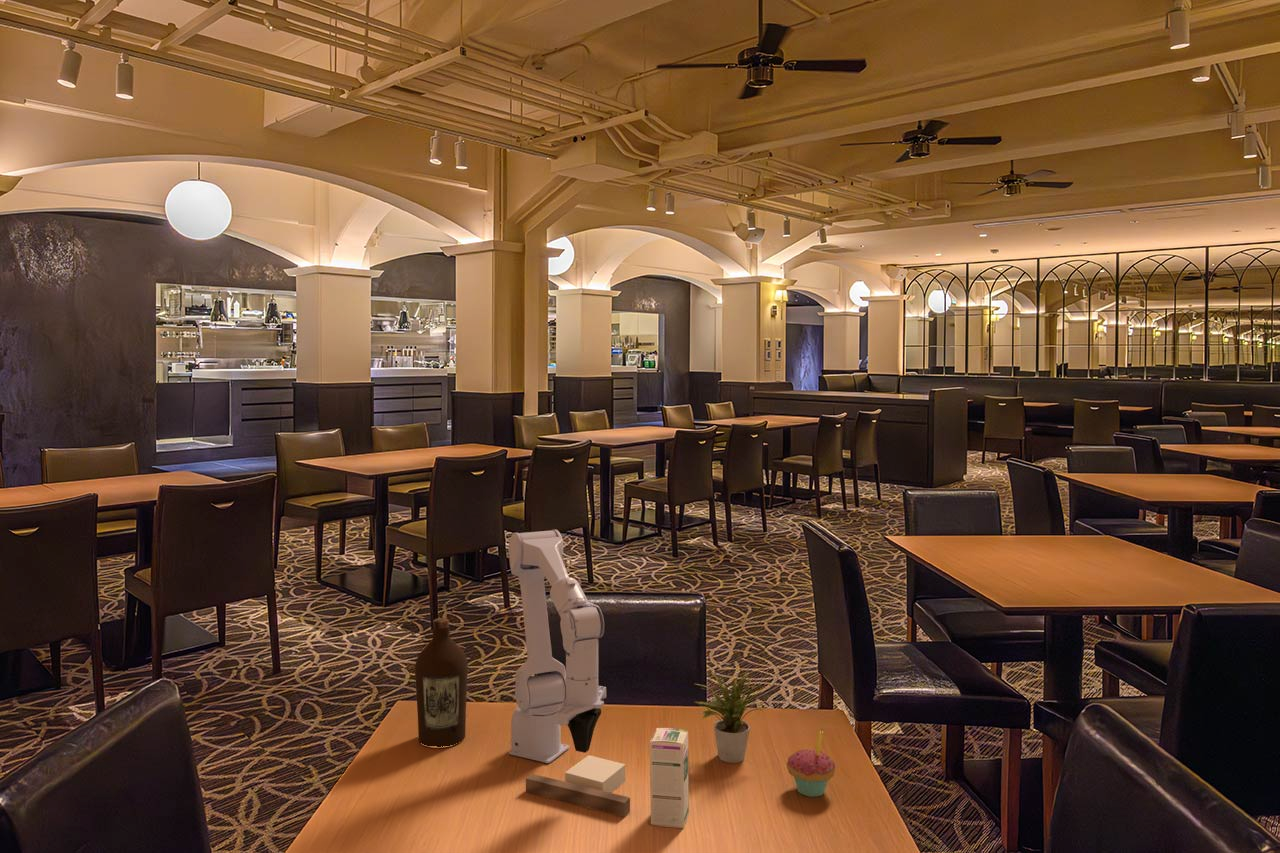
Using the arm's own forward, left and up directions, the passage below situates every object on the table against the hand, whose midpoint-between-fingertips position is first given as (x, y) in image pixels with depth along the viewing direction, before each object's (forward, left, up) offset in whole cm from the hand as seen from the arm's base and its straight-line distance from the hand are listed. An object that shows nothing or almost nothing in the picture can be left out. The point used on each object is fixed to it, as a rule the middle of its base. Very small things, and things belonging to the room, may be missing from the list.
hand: (582, 750), depth 147 cm
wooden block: (0, +5, -9) cm, 10 cm away
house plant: (+18, +28, -9) cm, 34 cm away
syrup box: (+17, 0, -9) cm, 19 cm away
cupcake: (+36, +20, -9) cm, 42 cm away
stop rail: (0, -2, -8) cm, 9 cm away
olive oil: (-38, +8, -9) cm, 40 cm away
